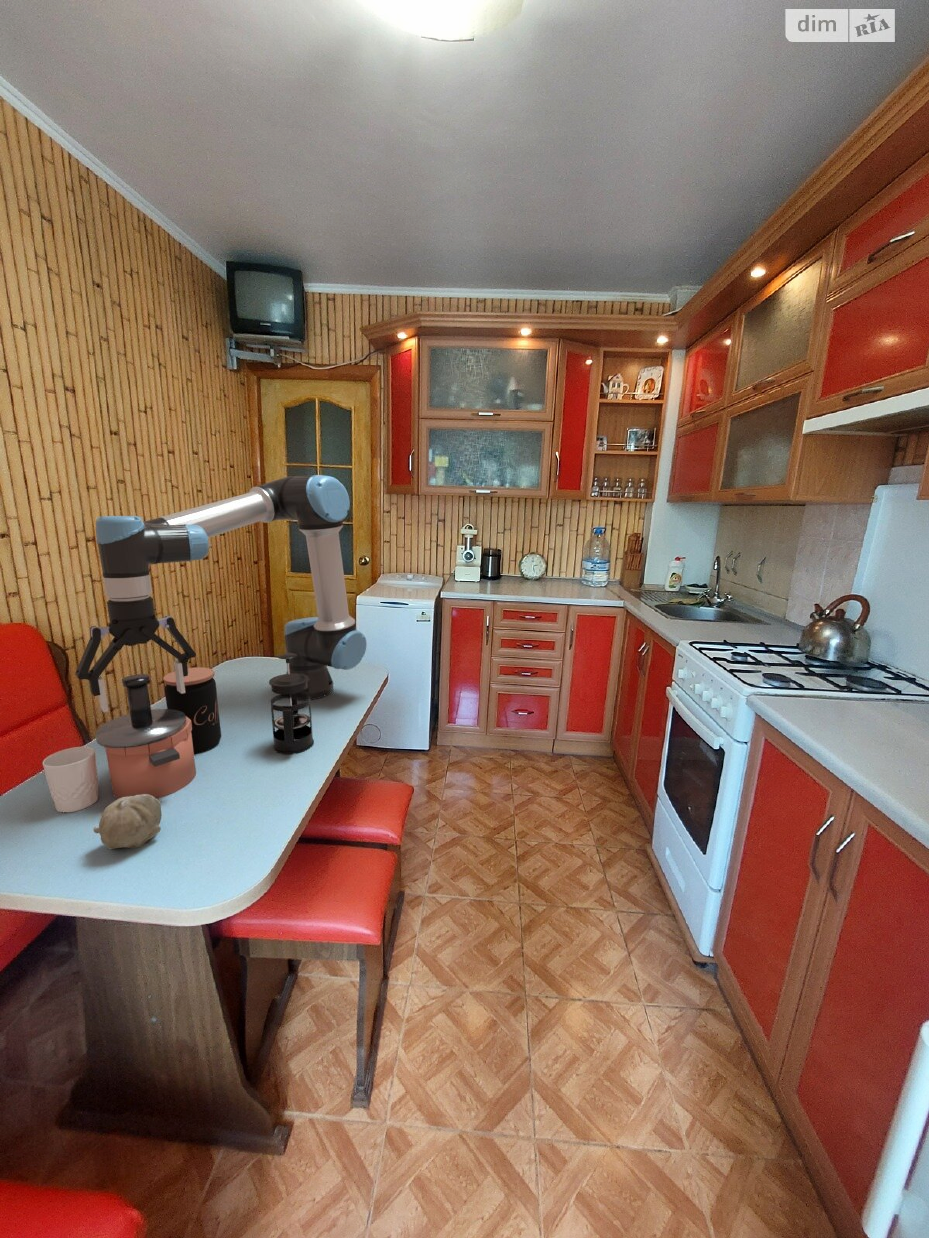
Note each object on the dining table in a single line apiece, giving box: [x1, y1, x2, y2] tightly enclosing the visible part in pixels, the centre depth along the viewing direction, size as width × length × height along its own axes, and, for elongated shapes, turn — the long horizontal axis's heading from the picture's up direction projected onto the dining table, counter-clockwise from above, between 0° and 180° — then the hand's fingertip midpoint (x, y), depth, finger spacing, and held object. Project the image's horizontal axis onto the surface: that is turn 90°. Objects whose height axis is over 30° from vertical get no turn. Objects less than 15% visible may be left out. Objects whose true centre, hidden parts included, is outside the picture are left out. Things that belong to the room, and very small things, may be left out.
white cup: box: [42, 746, 100, 814], centre depth 96 cm, size 8×8×10 cm
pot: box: [104, 716, 197, 800], centre depth 104 cm, size 21×15×12 cm
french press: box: [268, 652, 315, 755], centre depth 119 cm, size 12×9×23 cm
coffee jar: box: [162, 666, 222, 754], centre depth 119 cm, size 11×11×18 cm
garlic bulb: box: [93, 794, 163, 850], centre depth 85 cm, size 9×8×10 cm
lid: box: [94, 673, 187, 748], centre depth 101 cm, size 16×16×13 cm
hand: (144, 700), depth 101 cm, fingers open, 13 cm apart
